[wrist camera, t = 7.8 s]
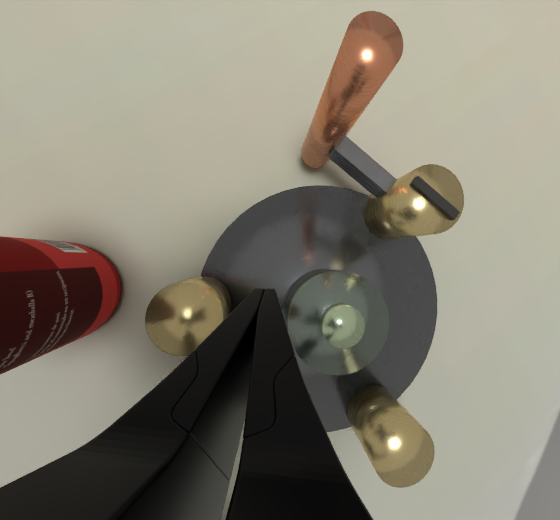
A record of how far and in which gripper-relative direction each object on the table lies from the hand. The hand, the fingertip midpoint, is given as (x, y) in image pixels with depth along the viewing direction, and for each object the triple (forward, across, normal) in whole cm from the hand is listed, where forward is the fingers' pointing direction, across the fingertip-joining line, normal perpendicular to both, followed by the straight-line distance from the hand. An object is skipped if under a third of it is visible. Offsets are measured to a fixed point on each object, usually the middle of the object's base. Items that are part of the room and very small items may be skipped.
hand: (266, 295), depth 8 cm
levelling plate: (+7, -3, +8) cm, 11 cm away
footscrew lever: (+12, -6, -1) cm, 13 cm away
